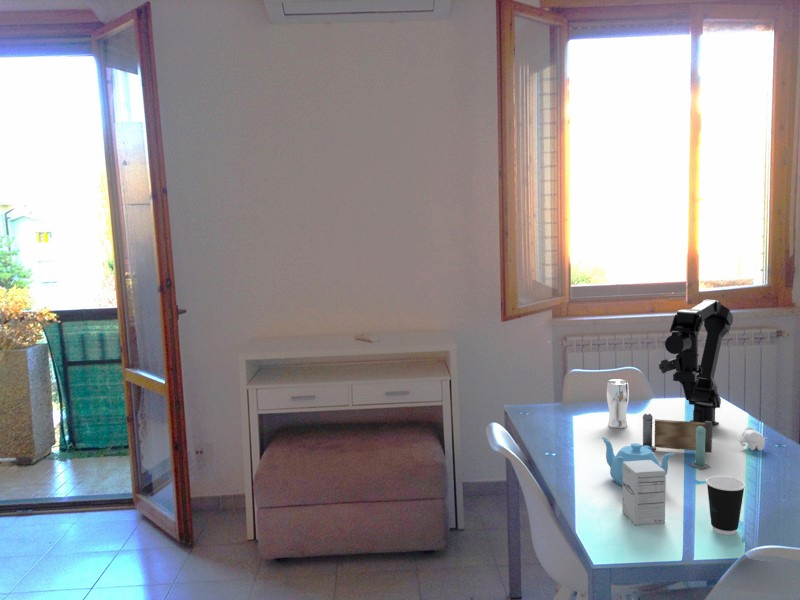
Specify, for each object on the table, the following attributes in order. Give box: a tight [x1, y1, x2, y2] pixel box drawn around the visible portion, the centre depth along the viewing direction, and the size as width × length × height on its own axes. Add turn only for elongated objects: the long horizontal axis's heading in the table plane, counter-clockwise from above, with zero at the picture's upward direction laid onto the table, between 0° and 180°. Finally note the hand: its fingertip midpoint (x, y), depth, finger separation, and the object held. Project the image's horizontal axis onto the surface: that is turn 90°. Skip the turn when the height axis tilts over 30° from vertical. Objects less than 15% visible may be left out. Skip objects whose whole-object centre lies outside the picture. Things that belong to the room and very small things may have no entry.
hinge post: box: [641, 412, 657, 452], centre depth 204 cm, size 5×5×11 cm
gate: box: [654, 418, 713, 454], centre depth 200 cm, size 16×2×9 cm, turn 69°
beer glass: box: [606, 379, 630, 430], centre depth 227 cm, size 7×7×15 cm
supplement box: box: [621, 460, 667, 526], centre depth 158 cm, size 7×7×13 cm
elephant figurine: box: [738, 426, 769, 452], centre depth 202 cm, size 7×8×6 cm
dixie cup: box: [705, 475, 746, 536], centre depth 151 cm, size 8×8×11 cm
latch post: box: [688, 426, 712, 471], centre depth 189 cm, size 4×4×11 cm
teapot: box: [601, 437, 675, 486], centre depth 179 cm, size 15×15×10 cm
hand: (688, 400), depth 214 cm, fingers closed
